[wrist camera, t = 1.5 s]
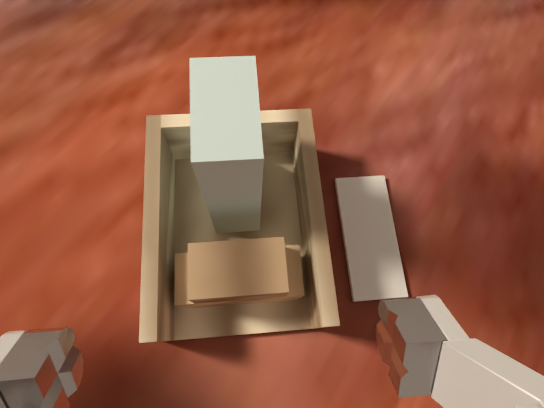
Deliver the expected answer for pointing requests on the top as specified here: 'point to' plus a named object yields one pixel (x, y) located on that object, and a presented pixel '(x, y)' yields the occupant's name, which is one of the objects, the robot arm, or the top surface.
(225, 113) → the pale green block
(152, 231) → the tray
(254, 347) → the top surface
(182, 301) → the block
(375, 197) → the felt pad
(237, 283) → the offcut short
